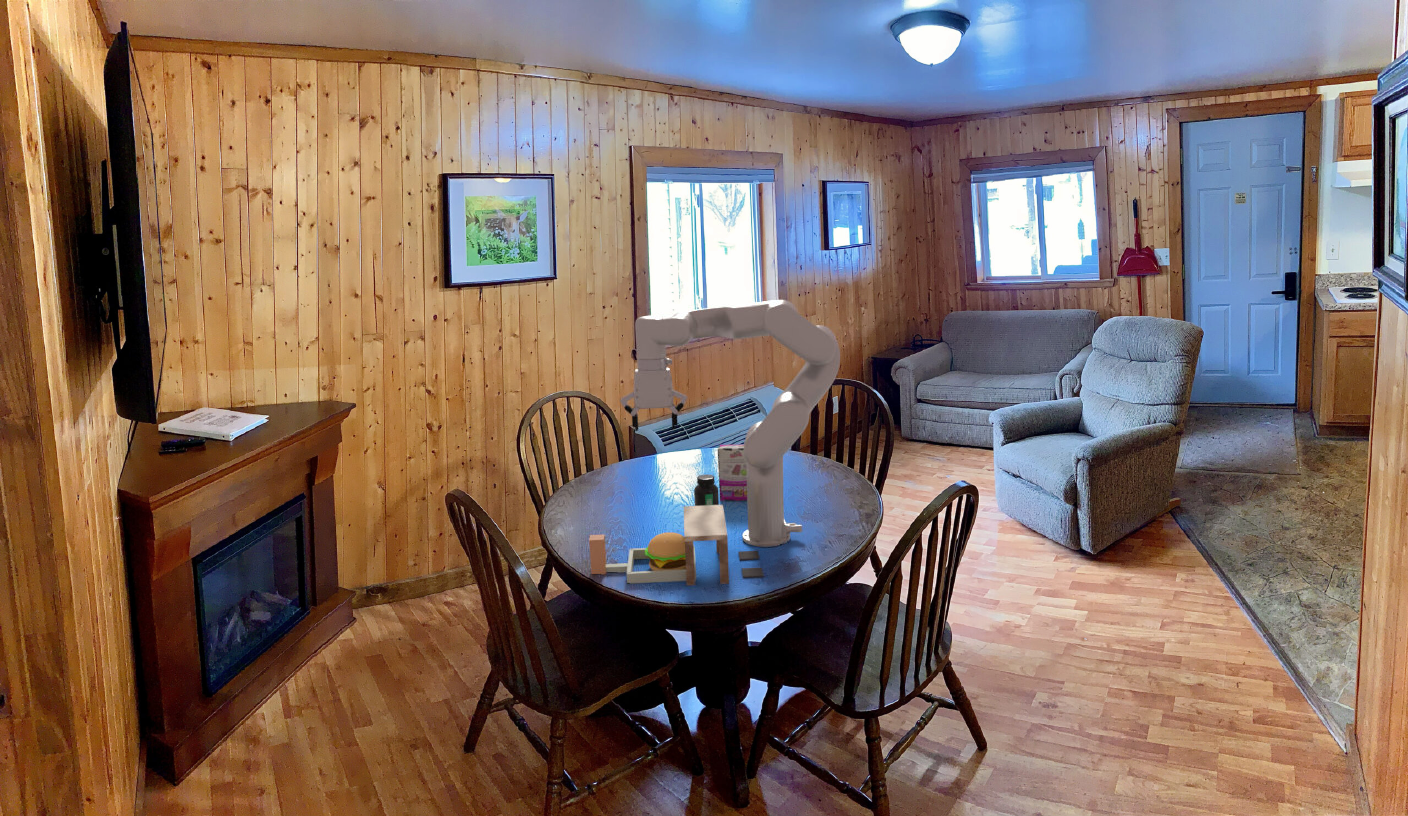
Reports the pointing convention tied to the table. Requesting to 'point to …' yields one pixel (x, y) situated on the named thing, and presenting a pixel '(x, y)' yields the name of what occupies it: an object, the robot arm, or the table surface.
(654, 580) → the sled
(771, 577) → the table surface
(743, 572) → the pit square
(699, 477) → the supplement bottle
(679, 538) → the hamburger
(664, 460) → the table surface
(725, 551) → the tunnel
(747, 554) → the pit square
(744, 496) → the candy bar box
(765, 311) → the robot arm
